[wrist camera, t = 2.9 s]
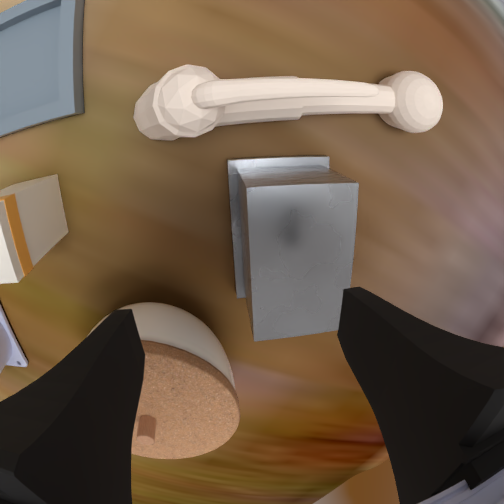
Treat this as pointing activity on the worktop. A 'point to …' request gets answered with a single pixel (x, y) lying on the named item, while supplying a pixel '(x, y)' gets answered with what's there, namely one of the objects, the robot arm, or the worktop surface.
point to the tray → (40, 63)
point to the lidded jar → (181, 385)
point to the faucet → (279, 101)
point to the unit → (291, 242)
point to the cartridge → (29, 225)
